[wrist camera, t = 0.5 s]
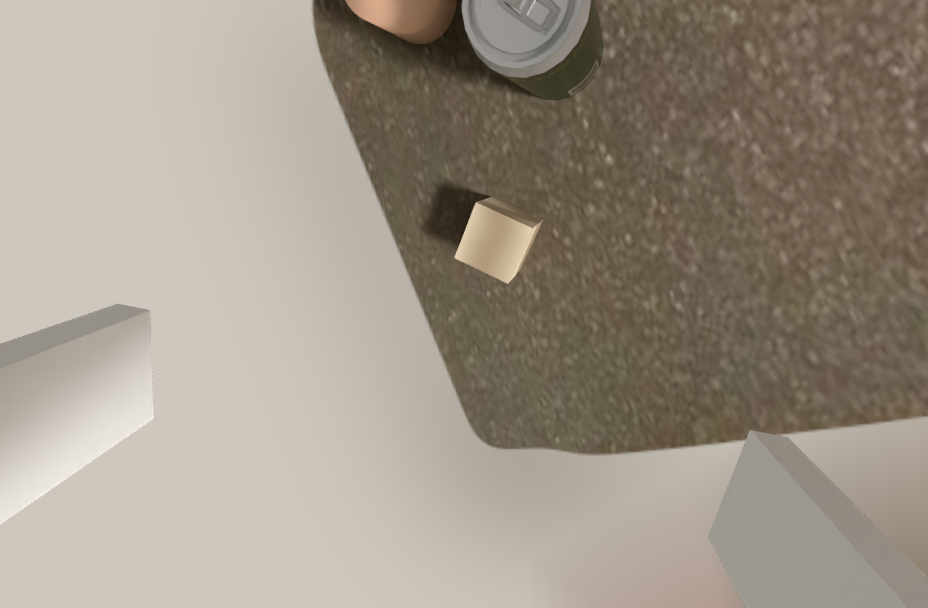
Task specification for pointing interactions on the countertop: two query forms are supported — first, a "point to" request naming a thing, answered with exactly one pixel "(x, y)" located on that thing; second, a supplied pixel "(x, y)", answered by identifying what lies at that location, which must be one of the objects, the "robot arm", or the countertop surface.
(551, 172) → the countertop surface
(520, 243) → the birch block
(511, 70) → the green soda can
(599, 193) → the countertop surface
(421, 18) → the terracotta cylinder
